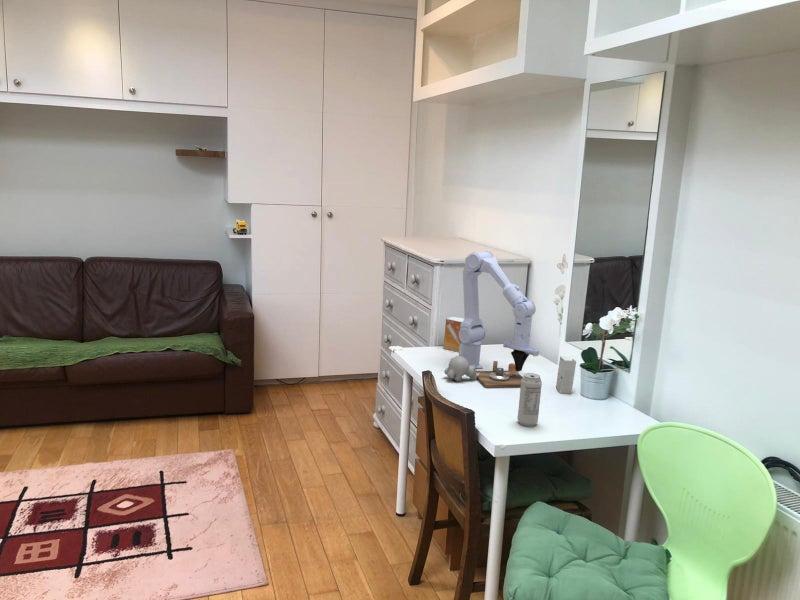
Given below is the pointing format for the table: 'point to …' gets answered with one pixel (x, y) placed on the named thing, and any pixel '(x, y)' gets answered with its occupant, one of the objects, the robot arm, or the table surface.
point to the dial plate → (504, 376)
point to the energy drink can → (529, 399)
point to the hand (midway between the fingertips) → (518, 370)
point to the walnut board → (492, 383)
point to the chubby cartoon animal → (460, 369)
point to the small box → (452, 333)
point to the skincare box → (565, 374)
